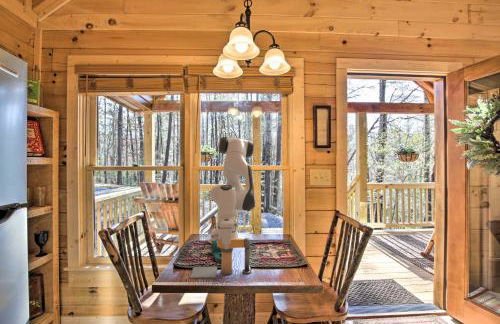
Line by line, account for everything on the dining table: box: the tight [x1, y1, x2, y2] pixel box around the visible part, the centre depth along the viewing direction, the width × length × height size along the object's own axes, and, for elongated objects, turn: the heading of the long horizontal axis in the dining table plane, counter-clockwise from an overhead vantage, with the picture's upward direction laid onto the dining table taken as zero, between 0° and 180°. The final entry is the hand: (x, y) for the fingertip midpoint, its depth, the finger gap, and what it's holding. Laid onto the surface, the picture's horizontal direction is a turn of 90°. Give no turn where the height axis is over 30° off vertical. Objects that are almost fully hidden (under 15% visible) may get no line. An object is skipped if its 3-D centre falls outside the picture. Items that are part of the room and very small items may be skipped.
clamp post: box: [241, 247, 252, 275], centre depth 140 cm, size 4×4×12 cm
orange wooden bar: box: [218, 237, 251, 249], centre depth 139 cm, size 16×3×4 cm, turn 94°
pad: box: [189, 266, 218, 280], centre depth 139 cm, size 12×12×1 cm
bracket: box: [210, 240, 222, 263], centre depth 161 cm, size 18×7×8 cm, turn 16°
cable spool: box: [220, 248, 234, 276], centre depth 139 cm, size 6×6×12 cm
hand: (226, 248), depth 134 cm, fingers closed
